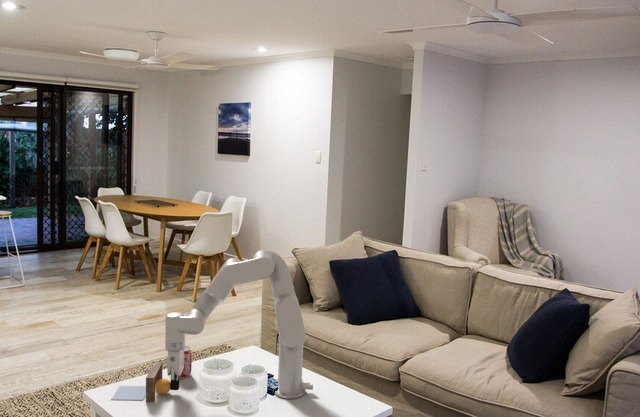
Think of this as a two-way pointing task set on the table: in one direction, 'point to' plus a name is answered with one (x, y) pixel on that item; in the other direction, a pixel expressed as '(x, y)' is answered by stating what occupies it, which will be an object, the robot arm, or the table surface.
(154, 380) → the bridge
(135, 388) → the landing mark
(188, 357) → the soda can
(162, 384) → the ball
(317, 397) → the table surface
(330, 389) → the table surface
